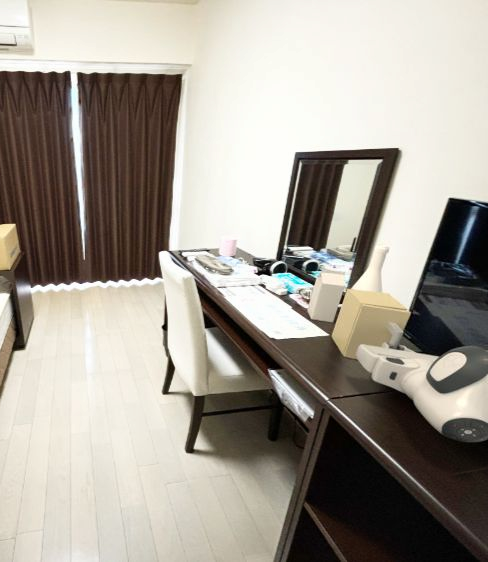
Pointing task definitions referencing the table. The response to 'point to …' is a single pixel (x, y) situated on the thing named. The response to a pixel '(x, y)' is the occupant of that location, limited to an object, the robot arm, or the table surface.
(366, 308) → the fridge door
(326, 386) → the table surface
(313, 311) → the milk carton
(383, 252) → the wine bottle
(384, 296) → the fridge
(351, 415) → the table surface
